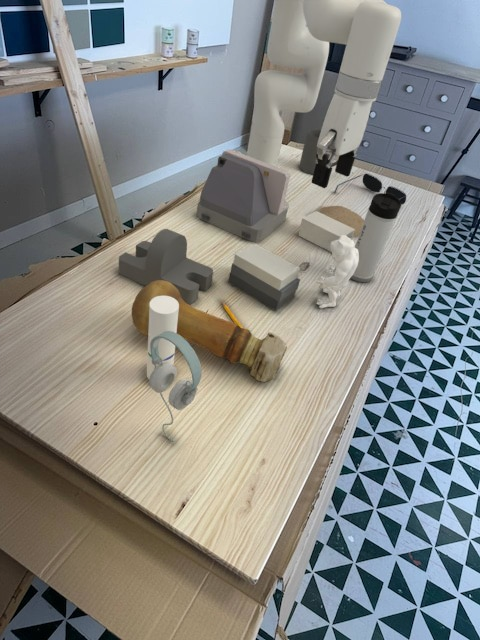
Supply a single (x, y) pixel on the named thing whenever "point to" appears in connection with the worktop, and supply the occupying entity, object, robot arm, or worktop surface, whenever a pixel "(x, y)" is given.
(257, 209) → the instant camera
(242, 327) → the pencil
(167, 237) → the bracket
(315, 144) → the mug
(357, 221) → the clay tablet
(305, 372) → the worktop surface
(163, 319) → the tube
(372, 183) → the sunglasses
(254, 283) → the grey stack
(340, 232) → the off-white rectangular block
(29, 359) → the worktop surface
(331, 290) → the figurine
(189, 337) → the stamp
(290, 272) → the white box
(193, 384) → the headphones
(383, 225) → the travel mug
